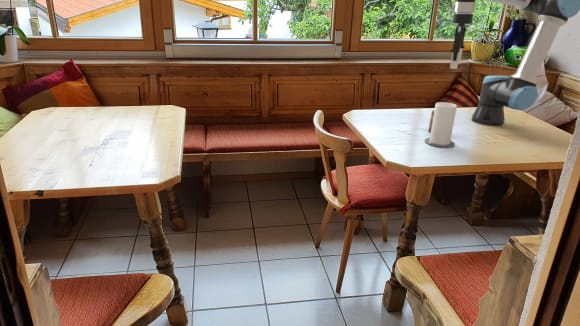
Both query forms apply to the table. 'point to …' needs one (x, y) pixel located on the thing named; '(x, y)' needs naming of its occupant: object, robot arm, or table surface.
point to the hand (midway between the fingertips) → (455, 66)
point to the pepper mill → (431, 121)
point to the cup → (443, 123)
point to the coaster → (438, 144)
